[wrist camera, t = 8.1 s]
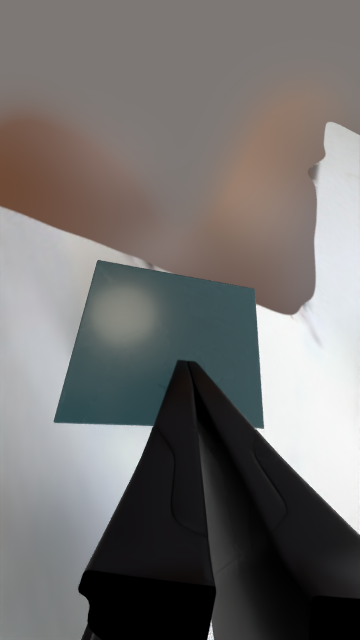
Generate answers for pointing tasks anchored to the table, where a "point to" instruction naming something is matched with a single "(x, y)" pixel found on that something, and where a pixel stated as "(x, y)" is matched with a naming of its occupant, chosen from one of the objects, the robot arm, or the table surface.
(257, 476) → the robot arm
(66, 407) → the green box lid
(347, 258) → the table surface
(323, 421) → the table surface
